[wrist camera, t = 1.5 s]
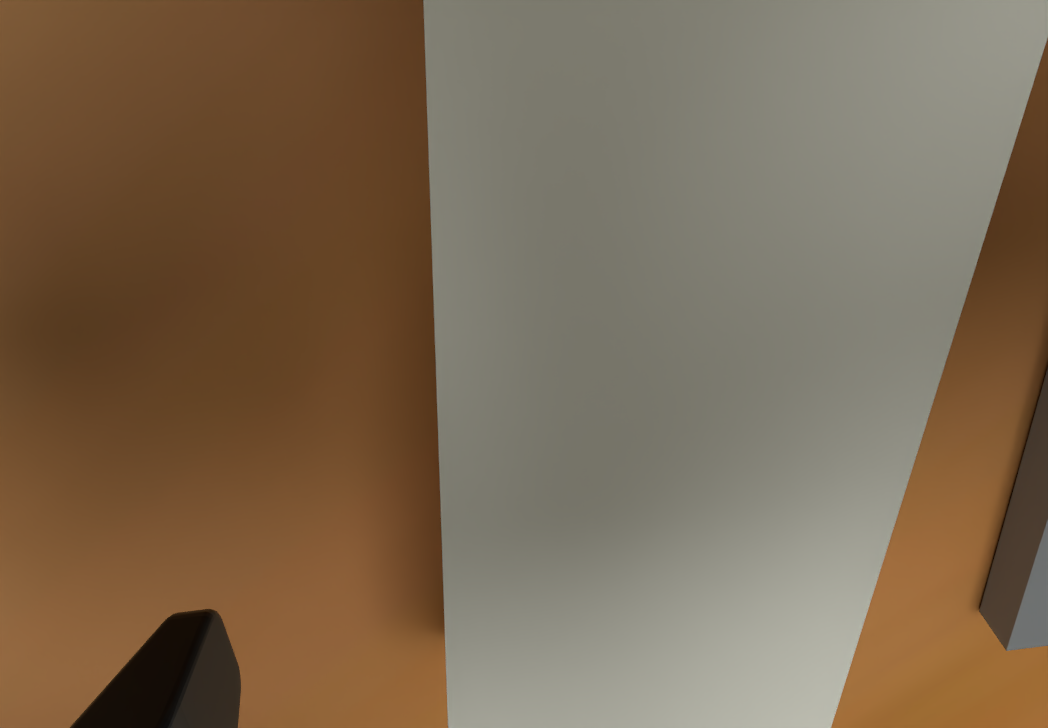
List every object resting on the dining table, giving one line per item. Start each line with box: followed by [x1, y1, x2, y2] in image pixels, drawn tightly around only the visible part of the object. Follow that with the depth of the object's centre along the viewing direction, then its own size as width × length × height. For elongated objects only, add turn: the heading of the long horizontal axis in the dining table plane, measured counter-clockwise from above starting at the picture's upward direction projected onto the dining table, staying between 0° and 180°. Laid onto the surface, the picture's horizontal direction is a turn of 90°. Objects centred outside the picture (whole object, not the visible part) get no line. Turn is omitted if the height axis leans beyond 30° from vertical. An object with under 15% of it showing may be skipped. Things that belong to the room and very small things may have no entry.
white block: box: [423, 0, 1048, 728], centre depth 11 cm, size 16×5×5 cm, turn 179°
